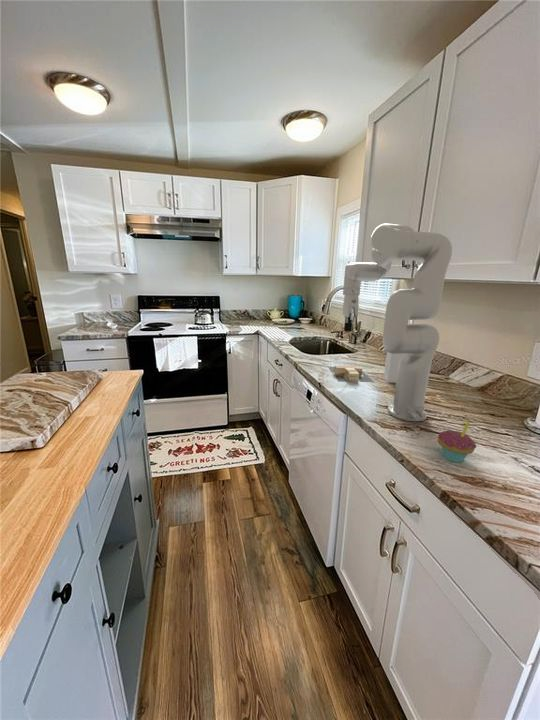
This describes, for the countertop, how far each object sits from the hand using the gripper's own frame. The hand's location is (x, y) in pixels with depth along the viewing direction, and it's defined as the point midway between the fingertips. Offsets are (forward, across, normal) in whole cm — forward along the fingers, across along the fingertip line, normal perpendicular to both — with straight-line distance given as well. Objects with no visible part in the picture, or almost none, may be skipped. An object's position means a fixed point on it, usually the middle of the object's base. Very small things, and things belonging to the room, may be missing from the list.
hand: (347, 331), depth 142 cm
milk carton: (+21, -14, -19) cm, 31 cm away
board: (+21, -6, -1) cm, 22 cm away
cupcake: (+22, -72, -10) cm, 76 cm away
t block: (+20, -11, 0) cm, 23 cm away
